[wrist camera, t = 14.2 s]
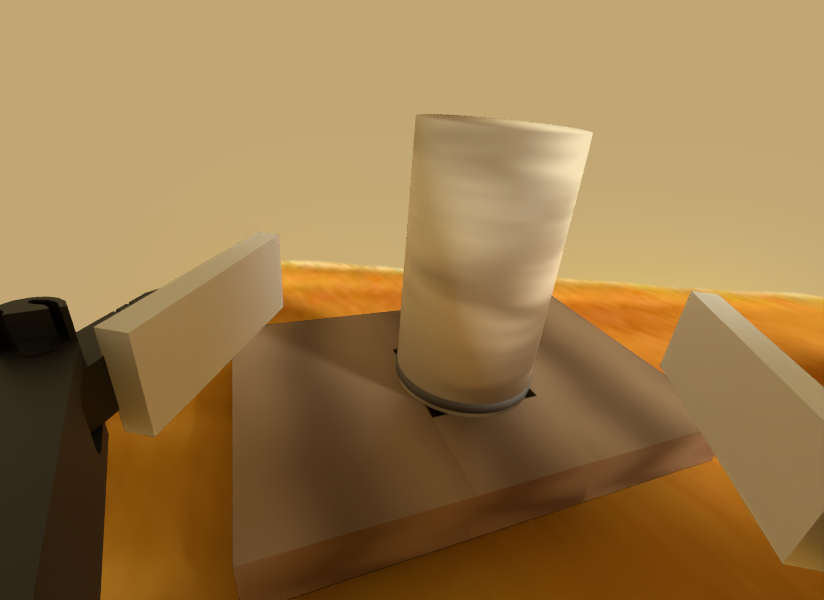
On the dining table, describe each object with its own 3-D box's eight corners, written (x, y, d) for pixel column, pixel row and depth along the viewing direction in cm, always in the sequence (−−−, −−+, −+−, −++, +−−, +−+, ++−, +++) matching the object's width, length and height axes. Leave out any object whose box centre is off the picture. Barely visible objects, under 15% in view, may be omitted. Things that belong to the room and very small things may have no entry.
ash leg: (480, 361, 27) (525, 119, 21) (547, 438, 21) (636, 138, 15) (377, 378, 25) (391, 110, 18) (420, 470, 19) (463, 128, 13)
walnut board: (542, 323, 33) (549, 294, 32) (711, 459, 21) (732, 422, 20) (236, 364, 25) (232, 328, 24) (241, 614, 14) (232, 567, 12)
